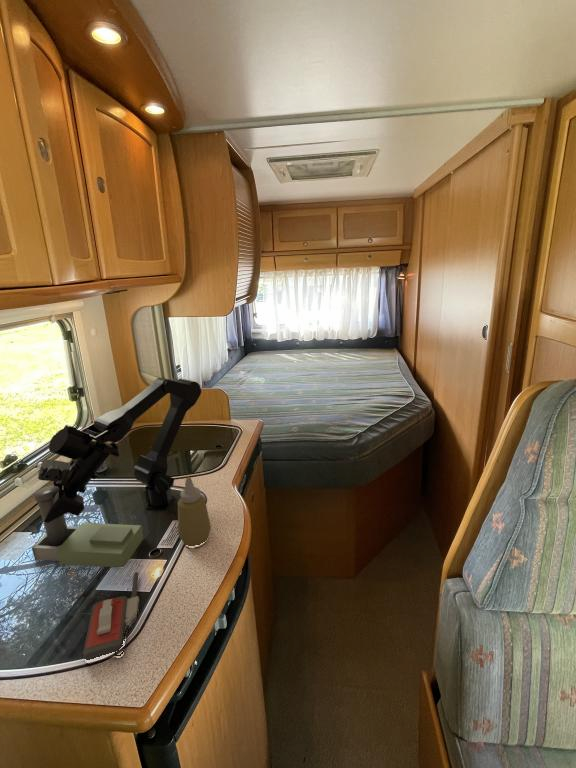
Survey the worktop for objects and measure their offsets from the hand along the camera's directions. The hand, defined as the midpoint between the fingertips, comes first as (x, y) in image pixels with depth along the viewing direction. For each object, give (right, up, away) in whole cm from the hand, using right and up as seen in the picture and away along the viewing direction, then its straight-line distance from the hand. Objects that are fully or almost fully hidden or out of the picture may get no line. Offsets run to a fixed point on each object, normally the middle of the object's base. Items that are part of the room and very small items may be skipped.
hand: (46, 516), depth 92 cm
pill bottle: (-7, +2, +41) cm, 42 cm away
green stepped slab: (+9, -9, +3) cm, 13 cm away
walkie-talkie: (+24, -15, -15) cm, 32 cm away
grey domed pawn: (+1, -7, +3) cm, 8 cm away
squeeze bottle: (+35, -8, +5) cm, 36 cm away
